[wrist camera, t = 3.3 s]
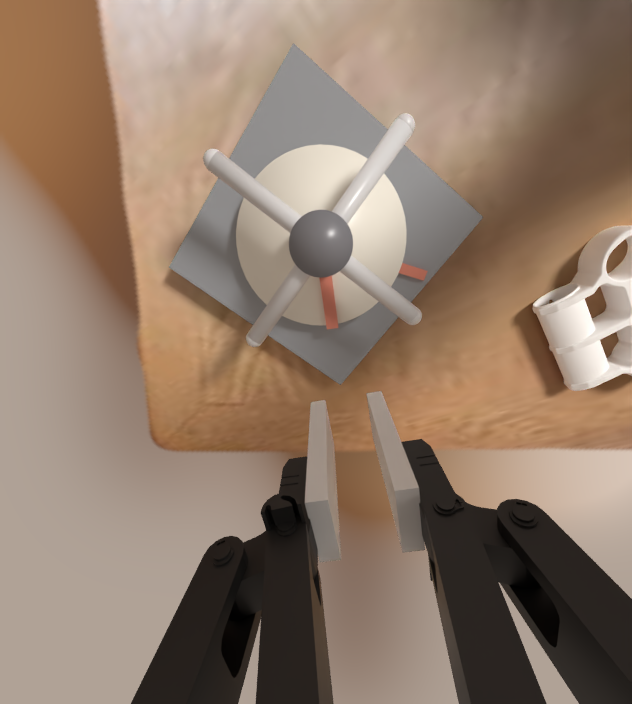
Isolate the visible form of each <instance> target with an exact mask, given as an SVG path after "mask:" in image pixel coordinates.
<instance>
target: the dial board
mask: <svg viewBox="0 0 632 704" xmlns="http://www.w3.org/2000/svg"><path fill="white" fill-rule="evenodd" d="M387 130H388V129H387V128H385V127H384V126H383V125H382V124H381V123H380V122H379V121H378V120H377V119H376V118H375V117H373V116H372V115H371V114H370V113H369V112H368V111H367V110H366V109H365V108H364V107H363V106H361V105H360V104H359V103H358V102H357V101H356V100H355V99H354V98H353V97H352V96H351V95H349V94H348V93H347V92H346V91H345V90H344V89H343V88H342V87H341V86H340V85H339V84H337V83H336V82H335V81H334V80H333V79H332V78H331V77H330V76H329V75H328V74H327V73H325V72H324V71H323V70H322V69H321V68H320V67H319V66H318V65H317V64H316V63H315V62H313V61H312V60H311V59H310V58H309V57H308V56H307V55H306V54H305V53H304V52H303V51H301V50H300V49H299V48H298V47H297V46H296V45H295V44H294V43H293V45H292V47H291V48H290V50H289V52H288V54H287V56H286V57H285V59H284V61H283V63H282V65H281V66H280V68H279V70H278V72H277V74H276V75H275V77H274V79H273V81H272V83H271V84H270V86H269V88H268V90H267V92H266V93H265V95H264V97H263V99H262V101H261V102H260V104H259V106H258V108H257V110H256V111H255V113H254V115H253V117H252V119H251V120H250V122H249V124H248V126H247V128H246V129H245V131H244V133H243V135H242V137H241V138H240V140H239V142H238V144H237V146H236V147H235V149H234V151H233V153H232V155H231V156H230V158H229V159H230V160H231V161H233V162H234V163H235V164H237V165H238V166H239V167H240V168H242V169H243V170H244V171H245V172H247V173H248V174H249V175H250V176H252V177H253V178H254V179H255V178H256V176H257V175H258V174H259V173H260V172H261V171H262V170H263V169H264V168H265V167H266V166H267V165H268V164H270V163H271V162H272V161H273V160H275V159H276V158H278V157H279V156H281V155H283V154H284V153H287V152H289V151H291V150H294V149H296V148H300V147H304V146H309V145H319V144H322V145H334V146H339V147H344V148H347V149H349V150H352V151H355V152H357V153H359V154H361V155H362V156H364V157H366V158H367V159H368V158H369V157H370V155H371V154H372V152H373V151H374V149H375V148H376V146H377V145H378V144H379V142H380V141H381V139H382V138H383V136H384V135H385V133H386V132H387ZM384 174H385V175H386V176H387V178H388V179H389V180H390V182H391V183H392V185H393V186H394V188H395V190H396V192H397V194H398V196H399V199H400V201H401V204H402V207H403V211H404V215H405V220H406V229H407V235H406V248H405V255H404V258H403V262H402V265H401V268H400V270H399V273H398V275H397V277H396V279H395V281H394V283H393V285H392V286H391V287H392V288H393V289H394V290H396V291H397V292H398V293H399V294H401V295H402V296H403V297H404V298H406V299H407V300H408V301H409V302H412V300H413V299H414V298H415V297H416V296H417V295H418V293H419V292H420V291H421V290H422V289H423V288H424V286H425V285H426V284H427V283H428V282H429V281H430V279H431V278H432V277H433V276H434V275H435V273H436V272H437V271H438V270H439V269H440V268H441V266H442V265H443V264H444V263H445V262H446V261H447V259H448V258H449V257H450V256H451V255H452V253H453V252H454V251H455V250H456V249H457V248H458V246H459V245H460V244H461V243H462V242H463V241H464V239H465V238H466V237H467V236H468V235H469V234H470V232H471V231H472V230H473V229H474V228H475V226H476V225H477V224H478V223H479V222H480V221H481V219H482V218H483V216H482V215H480V214H479V213H478V212H477V211H476V210H475V209H474V208H473V207H472V206H471V205H470V204H468V203H467V202H466V201H465V200H464V199H463V198H462V197H461V196H460V195H459V194H458V193H456V192H455V191H454V190H453V189H452V188H451V187H450V186H449V185H448V184H447V183H446V182H444V181H443V180H442V179H441V178H440V177H439V176H438V175H437V174H436V173H435V172H433V171H432V170H431V169H430V168H429V167H428V166H427V165H426V164H425V163H424V162H423V161H421V160H420V159H419V158H418V157H417V156H416V155H415V154H414V153H413V152H412V151H411V150H409V149H408V148H407V147H406V146H405V145H404V146H403V147H402V149H401V150H400V152H399V153H398V154H397V156H396V157H395V159H394V160H393V161H392V163H391V164H390V166H389V167H388V168H387V170H386V171H385V173H384ZM243 198H244V197H243V196H241V195H240V194H239V193H237V192H236V191H235V190H234V189H232V188H231V187H230V186H228V185H227V184H226V183H225V182H223V181H222V180H221V179H219V178H218V180H217V182H216V183H215V185H214V187H213V189H212V191H211V192H210V194H209V196H208V198H207V200H206V201H205V203H204V205H203V207H202V209H201V210H200V212H199V214H198V216H197V218H196V219H195V221H194V223H193V225H192V227H191V228H190V230H189V232H188V234H187V236H186V237H185V239H184V241H183V243H182V245H181V246H180V248H179V250H178V252H177V254H176V255H175V257H174V259H173V261H172V263H171V264H170V266H169V268H171V269H172V270H173V271H175V272H176V273H178V274H179V275H181V276H182V277H184V278H185V279H187V280H188V281H190V282H191V283H192V284H194V285H195V286H197V287H198V288H200V289H201V290H203V291H204V292H206V293H207V294H208V295H210V296H211V297H213V298H214V299H216V300H217V301H219V302H220V303H222V304H223V305H225V306H226V307H227V308H229V309H230V310H232V311H233V312H235V313H236V314H238V315H239V316H241V317H242V318H244V319H245V320H246V321H248V322H249V323H251V324H252V325H254V323H255V322H256V320H257V319H258V317H259V316H260V314H261V313H262V311H263V310H264V309H265V307H266V306H267V305H266V304H265V303H264V302H263V301H262V300H261V299H260V298H259V297H258V295H257V294H256V293H255V291H254V290H253V289H252V288H251V286H250V284H249V282H248V281H247V279H246V277H245V275H244V272H243V270H242V268H241V264H240V261H239V257H238V251H237V245H236V227H237V219H238V214H239V210H240V207H241V204H242V201H243ZM397 318H398V316H397V315H395V314H394V313H393V312H391V311H390V310H389V309H388V308H386V307H385V306H384V305H382V304H381V303H380V302H378V303H377V304H376V305H374V306H373V307H372V308H371V309H369V310H368V311H366V312H365V313H363V314H362V315H360V316H358V317H356V318H354V319H352V320H349V321H346V322H343V323H339V324H338V327H339V328H334V329H327V327H326V325H323V326H320V325H308V324H303V323H299V322H296V321H293V320H290V319H288V318H286V317H284V316H281V318H280V319H279V321H278V322H277V323H276V325H275V326H274V327H273V329H272V330H271V332H270V333H269V334H268V336H270V337H271V338H273V339H274V340H276V341H277V342H279V343H280V344H281V345H283V346H284V347H286V348H287V349H289V350H290V351H292V352H293V353H295V354H296V355H297V356H299V357H300V358H302V359H303V360H305V361H306V362H308V363H309V364H311V365H312V366H314V367H315V368H316V369H318V370H319V371H321V372H322V373H324V374H325V375H327V376H328V377H330V378H331V379H332V380H334V381H335V382H337V383H338V384H340V385H341V384H342V383H343V381H344V380H345V379H346V378H347V377H348V376H349V374H350V373H351V372H352V371H353V370H354V369H355V367H356V366H357V365H358V364H359V363H360V362H361V360H362V359H363V358H364V357H365V356H366V354H367V353H368V352H369V351H370V350H371V349H372V347H373V346H374V345H375V344H376V343H377V342H378V340H379V339H380V338H381V337H382V336H383V335H384V333H385V332H386V331H387V330H388V329H389V327H390V326H391V325H392V324H393V323H394V322H395V320H396V319H397Z"/></svg>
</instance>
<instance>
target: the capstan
mask: <svg viewBox="0 0 632 704" xmlns="http://www.w3.org/2000/svg"><path fill="white" fill-rule="evenodd" d="M414 128H415V121H414V118H413V117H412V116H411V115H410V114H407V113H403V114H401V115H399V116H398V117H397V118H396V119H395V120H394V122H393V123H392V125H391V126H390V128H389V129H388V130H387V132H386V133H385V135H384V136H383V138H382V139H381V141H380V142H379V144H378V145H377V146H376V148H375V149H374V151H373V152H372V154H371V155H370V157H369V158H368V159H367V158H366V157H364V156H362V155H361V154H359V153H357V152H355V151H352V150H349V149H347V148H344V147H339V146H334V145H322V144H319V145H309V146H304V147H300V148H296V149H294V150H291V151H289V152H287V153H284V154H283V155H281V156H279V157H278V158H276V159H275V160H273V161H272V162H271V163H270V164H268V165H267V166H266V167H265V168H264V169H263V170H262V171H261V172H260V173H259V174H258V175H257V176H256V178H255V179H254V178H253V177H252V176H250V175H249V174H248V173H247V172H245V171H244V170H243V169H242V168H240V167H239V166H238V165H237V164H235V163H234V162H233V161H231V160H230V159H229V158H228V157H226V156H225V155H224V154H223V153H221V152H220V151H219V150H217V149H209V150H207V151H206V152H205V154H204V157H203V161H204V164H205V166H206V168H207V169H208V170H209V171H210V172H212V173H213V174H214V175H215V176H217V177H218V178H219V179H221V180H222V181H223V182H225V183H226V184H227V185H228V186H230V187H231V188H232V189H234V190H235V191H236V192H237V193H239V194H240V195H241V196H243V197H244V198H243V201H242V204H241V207H240V210H239V214H238V219H237V227H236V245H237V251H238V257H239V261H240V264H241V268H242V270H243V272H244V275H245V277H246V279H247V281H248V282H249V284H250V286H251V288H252V289H253V290H254V291H255V293H256V294H257V295H258V297H259V298H260V299H261V300H262V301H263V302H264V303H265V304H266V305H267V306H266V307H265V309H264V310H263V311H262V313H261V314H260V316H259V317H258V319H257V320H256V322H255V323H254V325H253V326H252V327H251V329H250V330H249V332H248V333H247V335H246V341H247V343H248V344H249V345H250V346H252V347H258V346H260V345H261V344H262V343H263V341H264V340H265V339H266V337H267V336H268V334H269V333H270V332H271V330H272V329H273V327H274V326H275V325H276V323H277V322H278V321H279V319H280V318H281V316H284V317H286V318H288V319H290V320H293V321H296V322H299V323H303V324H308V325H320V326H323V325H326V327H327V329H334V328H339V327H338V324H339V323H343V322H346V321H349V320H352V319H354V318H356V317H358V316H360V315H362V314H363V313H365V312H366V311H368V310H369V309H371V308H372V307H373V306H374V305H376V304H377V303H378V302H380V303H381V304H382V305H384V306H385V307H386V308H388V309H389V310H390V311H391V312H393V313H394V314H395V315H397V316H398V317H399V318H401V319H402V320H403V321H404V322H406V323H407V324H409V325H416V324H418V323H419V322H420V321H421V319H422V313H421V311H420V310H419V309H418V308H417V307H416V306H415V305H413V304H412V303H411V302H409V301H408V300H407V299H406V298H404V297H403V296H402V295H401V294H399V293H398V292H397V291H396V290H394V289H393V288H392V287H391V286H392V285H393V283H394V281H395V279H396V277H397V275H398V273H399V270H400V268H401V265H402V262H403V258H404V255H405V248H406V235H407V229H406V220H405V215H404V211H403V207H402V204H401V201H400V199H399V196H398V194H397V192H396V190H395V188H394V186H393V185H392V183H391V182H390V180H389V179H388V178H387V176H386V175H385V174H384V173H385V171H386V170H387V168H388V167H389V166H390V164H391V163H392V161H393V160H394V159H395V157H396V156H397V154H398V153H399V152H400V150H401V149H402V147H403V146H404V145H405V143H406V142H407V140H408V139H409V138H410V136H411V135H412V133H413V131H414Z"/></svg>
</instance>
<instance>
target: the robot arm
mask: <svg viewBox="0 0 632 704" xmlns="http://www.w3.org/2000/svg"><path fill="white" fill-rule="evenodd" d="M366 394H367V400H368V407H369V414H370V421H371V427H372V434H373V440H374V444H375V447H376V451H377V455H378V459H379V463H380V467H381V470H382V475H383V478H384V482H385V486H386V490H387V494H388V497H389V501H390V505H391V509H392V513H393V517H394V521H395V525H396V529H397V533H398V536H399V540H400V544H401V548H402V552H412V551H420V550H425V547H424V542H425V545H426V548H427V551H428V556H429V566H430V577H431V581H433V584H434V589H435V593H436V598H437V603H438V608H439V612H440V617H441V622H442V626H443V631H444V636H445V641H446V645H447V650H448V655H449V659H450V664H451V669H452V673H453V678H454V682H455V687H456V692H457V697H458V701H459V704H546V701H545V699H544V697H543V694H542V692H541V689H540V686H539V684H538V681H537V679H536V676H535V674H534V671H533V669H532V666H531V664H530V661H529V659H528V656H527V654H526V651H525V649H524V646H523V644H522V641H521V639H520V636H519V634H518V631H517V629H516V626H515V624H514V621H513V619H512V616H511V613H510V611H509V608H508V606H507V603H506V601H505V598H504V596H503V593H502V591H501V588H500V586H499V583H500V584H501V585H502V586H503V588H504V590H505V591H506V593H507V594H508V596H509V597H510V599H511V600H512V602H513V603H514V605H515V606H516V608H517V610H518V611H519V613H520V614H521V616H522V617H523V619H524V620H525V622H526V623H527V625H528V626H529V628H530V629H531V631H532V632H533V634H534V635H535V637H536V639H537V640H538V642H539V643H540V644H541V646H542V648H543V649H544V651H545V652H546V653H547V655H548V656H549V658H550V660H551V661H552V663H553V664H554V666H555V667H556V669H557V671H558V672H559V674H560V675H561V677H562V678H563V680H564V681H565V683H566V684H567V686H568V687H569V689H570V690H571V692H572V693H573V695H574V696H575V698H576V699H577V701H578V702H579V704H632V599H631V598H630V597H629V596H628V595H627V594H626V593H625V592H624V591H623V590H622V589H621V588H620V587H619V586H618V585H617V584H616V583H615V582H614V581H613V580H612V579H611V578H610V577H609V576H608V575H607V574H606V573H605V572H604V571H603V570H602V569H601V568H600V567H599V566H598V565H597V564H596V563H595V562H594V561H593V560H592V559H591V558H590V557H589V556H588V555H587V554H586V553H585V552H584V551H583V550H582V549H581V548H580V547H579V546H578V545H577V544H576V543H575V542H574V541H573V540H572V539H571V538H570V537H569V536H568V535H567V534H566V533H565V532H564V531H563V530H562V529H561V528H560V527H559V526H558V525H557V524H556V523H555V522H554V521H553V520H552V519H551V518H550V517H549V516H548V515H547V514H546V513H545V512H544V511H543V510H542V509H540V508H539V507H538V506H536V505H534V504H532V503H529V502H528V501H524V500H519V499H511V500H506V501H504V502H502V503H501V504H500V505H499V506H498V508H497V510H495V509H488V508H481V507H476V506H473V505H470V504H468V503H466V502H465V501H464V500H463V499H462V498H461V497H460V496H458V495H457V494H456V493H455V492H454V490H453V488H452V486H451V485H450V483H449V481H448V479H447V477H446V475H445V473H444V471H443V469H442V467H441V466H440V464H439V462H438V460H437V458H436V457H435V454H434V452H433V450H432V448H431V446H430V445H428V444H427V443H426V442H425V441H423V440H422V439H419V440H412V441H405V442H401V440H400V438H399V435H398V433H397V430H396V427H395V425H394V422H393V420H392V417H391V415H390V412H389V409H388V407H387V404H386V402H385V399H384V397H383V394H382V391H378V392H372V393H366ZM261 515H262V518H263V521H264V524H265V527H266V531H265V532H264V533H262V534H261V535H259V536H257V537H256V538H253V539H251V540H248V541H246V542H244V543H243V542H242V541H241V540H240V539H239V538H238V537H234V536H229V537H224V538H222V539H220V540H218V541H216V542H215V543H214V544H213V545H211V546H210V547H209V548H208V550H207V551H206V553H205V554H204V556H203V558H202V560H201V562H200V564H199V566H198V568H197V570H196V573H195V575H194V576H193V578H192V580H191V582H190V585H189V587H188V589H187V591H186V593H185V595H184V597H183V599H182V601H181V603H180V605H179V607H178V609H177V611H176V613H175V615H174V617H173V619H172V621H171V623H170V626H169V627H168V629H167V631H166V633H165V635H164V638H163V639H162V641H161V643H160V646H159V648H158V650H157V652H156V654H155V656H154V658H153V660H152V662H151V664H150V666H149V668H148V670H147V672H146V674H145V676H144V678H143V680H142V682H141V684H140V686H139V688H138V690H137V692H136V694H135V696H134V698H133V700H132V703H131V704H238V702H239V698H240V694H241V690H242V687H243V683H244V679H245V675H246V672H247V668H248V664H249V660H250V657H251V653H252V649H253V645H254V642H255V638H256V634H257V631H258V626H259V623H260V619H261V630H260V645H259V661H258V662H259V663H258V677H257V692H256V704H333V695H332V685H331V676H330V666H329V658H328V647H327V638H326V628H325V619H324V609H323V600H322V591H321V581H320V575H319V571H318V567H317V566H318V557H319V561H320V562H327V561H336V560H341V549H340V532H339V516H338V502H337V485H336V468H335V452H334V441H333V436H332V431H331V426H330V421H329V416H328V411H327V406H326V401H325V400H321V401H315V402H311V407H310V424H309V440H308V456H307V457H300V458H293V459H289V460H288V462H287V463H286V464H285V466H284V467H283V471H282V479H281V484H280V490H279V494H277V495H274V496H273V497H271V498H270V499H268V500H267V502H266V503H265V504H264V505H263V507H262V510H261ZM498 582H499V583H498Z"/></svg>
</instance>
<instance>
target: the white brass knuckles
mask: <svg viewBox="0 0 632 704" xmlns="http://www.w3.org/2000/svg"><path fill="white" fill-rule="evenodd" d="M625 239H626V241H627V244H628V250H627V254H626V256H625V258H624V260H623V261H622V262H621V263H620V264H619V265H618V266H617V267H616V268H615V269H613V270H612V271H611V272H610V273H608V274H607V271H606V262H607V259H608V257H609V255H610V253H611V252H612V251H613V250H614V249H615V248H616V247H617V246H618V245H619V244H620V243H621V242H622V241H623V240H625ZM599 286H600V287H601V290H602V293H603V296H604V299H605V302H606V309H605V311H604V312H603V313H602V314H600V315H598V316H596V317H594V318H591V315H590V312H589V310H588V307H587V304H586V302H585V298H587V297H589V296H591V295H592V294H594V293H595V291H596V290H597V288H598V287H599ZM550 300H553V301H554V302H552V303H550V304H549V301H550ZM532 309H533V312H534V313H536V314H537V317H538V319H539V321H540V324H541V326H542V328H543V331H544V333H545V335H546V338H547V340H548V343H549V349H550V351H552V352H553V354H554V357H555V359H556V361H557V364H558V366H559V368H560V371H561V373H562V375H563V378H564V381H563V382H564V384H565V385H566V386H567V387H568V388H569V389H570V390H573V391H579V390H585V389H589V388H593V387H596V386H598V385H600V384H602V383H604V382H606V381H609V380H611V379H613V378H615V377H617V376H619V375H621V374H628V375H631V376H632V225H630V226H614V227H610V228H607V229H605V230H603V231H601V232H599V233H598V234H596V235H595V236H594V237H593V238H592V239H591V240H590V241H589V242H588V243H587V244H586V245H585V247H584V249H583V250H582V252H581V255H580V257H579V261H578V272H577V274H576V275H575V277H574V278H573V280H572V281H571V282H570V283H569V284H567V285H565V286H562V287H559V288H557V289H554V290H553V291H551V292H549V293H547V294H545V295H544V296H542V297H540V298H539V299H538V300H536V301H535V302H534V303H533V308H532ZM615 332H616V333H617V336H618V343H617V344H616V346H615V347H614V349H613V351H612V353H611V355H610V356H609V357H608V358H606V356H605V353H604V350H603V348H602V345H601V342H600V340H601V339H603V338H605V337H607V336H609V335H611V334H613V333H615Z"/></svg>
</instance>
